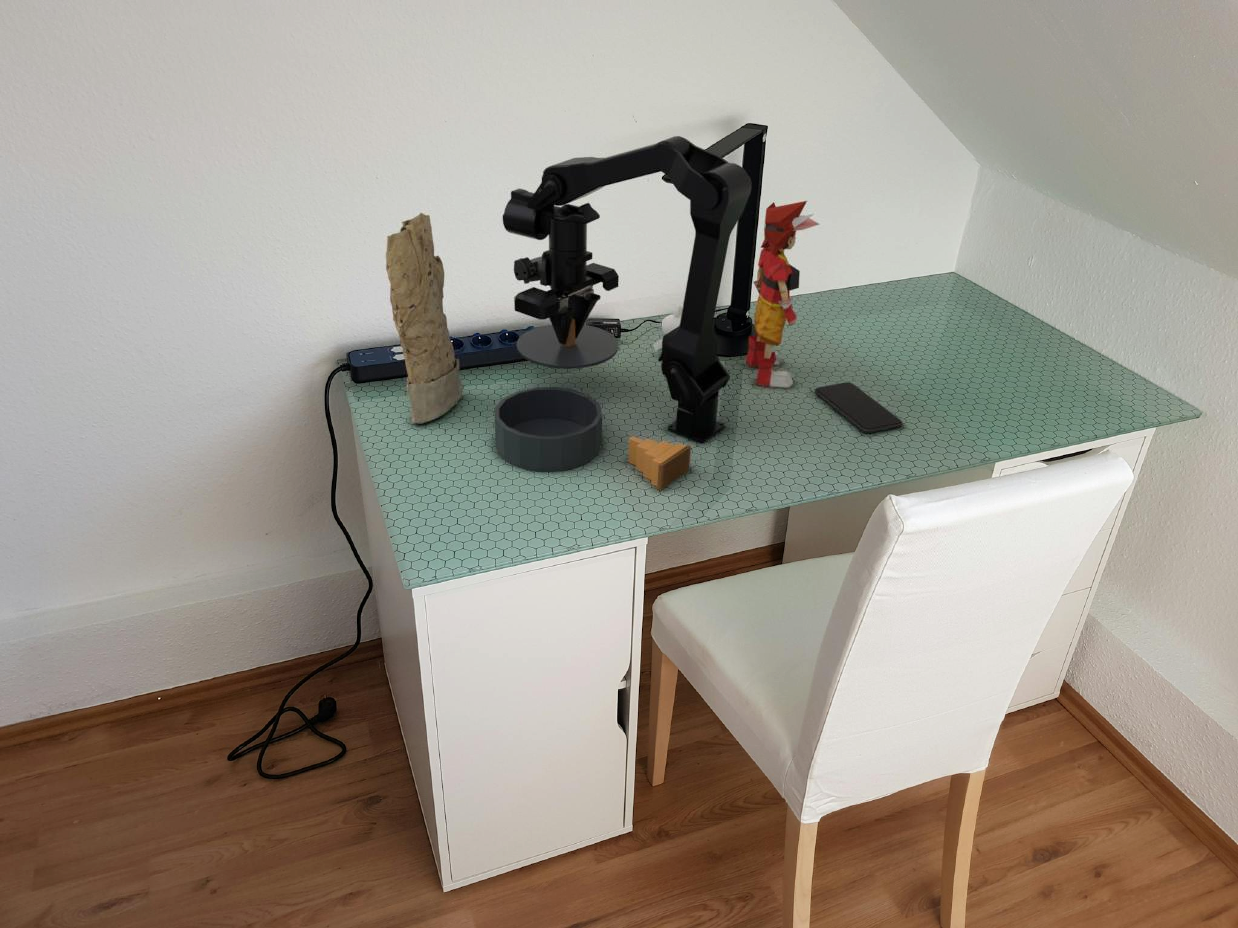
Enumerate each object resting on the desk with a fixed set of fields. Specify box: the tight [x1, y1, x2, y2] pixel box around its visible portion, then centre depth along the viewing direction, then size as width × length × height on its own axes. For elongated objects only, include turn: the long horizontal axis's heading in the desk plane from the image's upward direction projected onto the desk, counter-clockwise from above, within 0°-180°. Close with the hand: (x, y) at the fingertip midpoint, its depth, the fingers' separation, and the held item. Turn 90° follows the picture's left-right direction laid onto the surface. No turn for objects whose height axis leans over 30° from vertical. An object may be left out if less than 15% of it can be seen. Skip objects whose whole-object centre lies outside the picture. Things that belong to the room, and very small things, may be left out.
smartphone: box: [814, 381, 904, 434], centre depth 156 cm, size 7×1×15 cm
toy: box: [744, 200, 820, 389], centre depth 159 cm, size 12×9×30 cm
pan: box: [493, 386, 603, 473], centre depth 143 cm, size 15×15×6 cm
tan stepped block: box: [627, 435, 692, 492], centre depth 138 cm, size 8×7×4 cm
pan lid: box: [516, 318, 619, 370], centre depth 156 cm, size 16×16×5 cm
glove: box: [385, 212, 464, 424], centre depth 147 cm, size 14×10×30 cm
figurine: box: [652, 305, 683, 353], centre depth 166 cm, size 12×5×11 cm, turn 33°
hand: (568, 340), depth 157 cm, fingers closed on pan lid, 2 cm apart
